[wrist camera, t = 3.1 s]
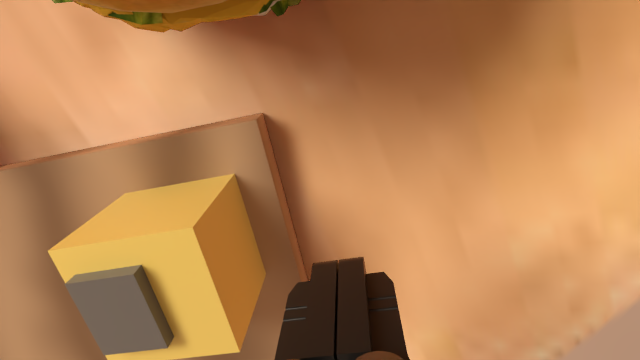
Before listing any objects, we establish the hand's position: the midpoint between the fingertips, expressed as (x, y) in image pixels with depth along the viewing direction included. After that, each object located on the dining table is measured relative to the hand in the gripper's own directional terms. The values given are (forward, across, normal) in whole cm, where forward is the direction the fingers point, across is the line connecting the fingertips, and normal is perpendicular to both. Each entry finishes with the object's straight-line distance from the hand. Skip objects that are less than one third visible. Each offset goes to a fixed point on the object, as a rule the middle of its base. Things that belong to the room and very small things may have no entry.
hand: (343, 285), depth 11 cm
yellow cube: (+5, +7, 0) cm, 8 cm away
